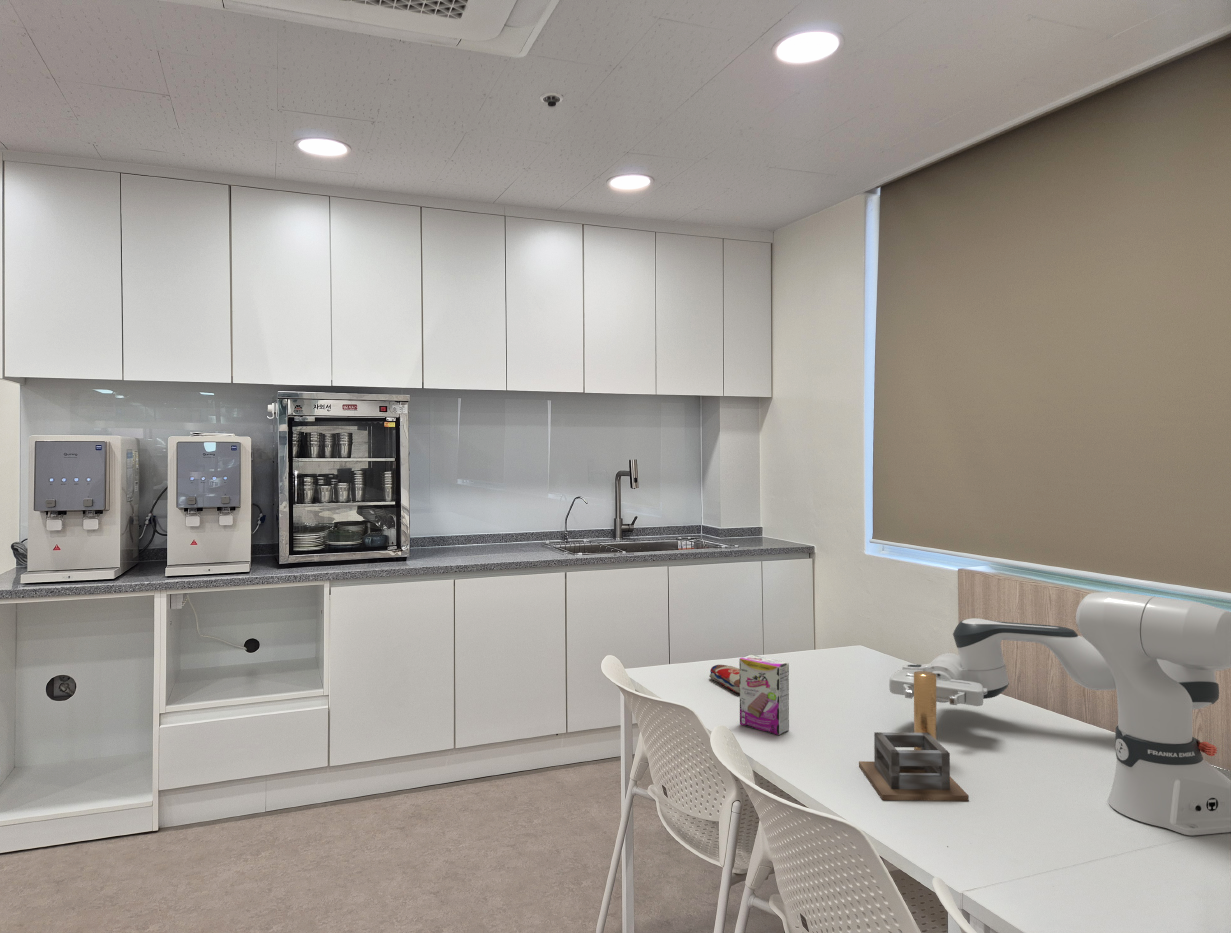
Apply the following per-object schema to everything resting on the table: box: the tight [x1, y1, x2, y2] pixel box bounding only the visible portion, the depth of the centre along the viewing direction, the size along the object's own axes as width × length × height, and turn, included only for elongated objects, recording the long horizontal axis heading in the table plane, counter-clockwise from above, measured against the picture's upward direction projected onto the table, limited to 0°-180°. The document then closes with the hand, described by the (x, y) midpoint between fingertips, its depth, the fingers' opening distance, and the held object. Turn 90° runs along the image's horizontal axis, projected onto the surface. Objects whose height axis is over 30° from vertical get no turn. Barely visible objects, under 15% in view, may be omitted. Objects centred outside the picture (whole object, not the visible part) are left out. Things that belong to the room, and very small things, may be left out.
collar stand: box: [858, 731, 970, 802], centre depth 153 cm, size 16×16×8 cm
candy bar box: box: [738, 654, 790, 736], centre depth 184 cm, size 11×5×16 cm, turn 47°
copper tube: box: [913, 671, 938, 750], centre depth 165 cm, size 4×4×18 cm
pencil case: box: [709, 664, 740, 695], centre depth 218 cm, size 11×20×5 cm, turn 6°
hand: (930, 698), depth 173 cm, fingers open, 8 cm apart
